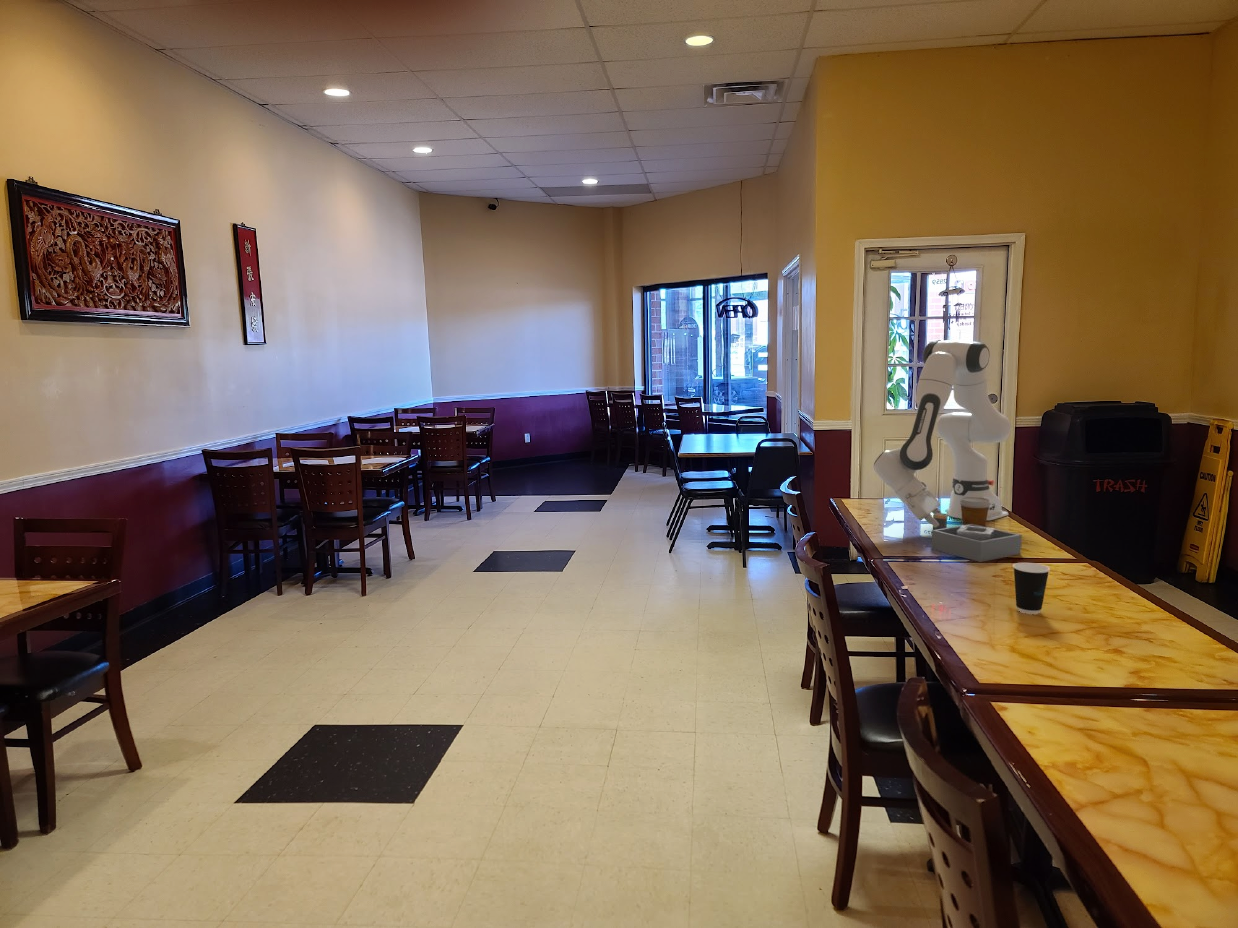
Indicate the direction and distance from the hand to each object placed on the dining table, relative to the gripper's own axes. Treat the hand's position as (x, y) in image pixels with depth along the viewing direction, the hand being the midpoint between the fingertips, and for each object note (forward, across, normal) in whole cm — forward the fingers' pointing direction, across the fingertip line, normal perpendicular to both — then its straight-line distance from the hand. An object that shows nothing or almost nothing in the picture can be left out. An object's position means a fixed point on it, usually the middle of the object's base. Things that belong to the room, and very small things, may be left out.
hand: (940, 523), depth 257 cm
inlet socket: (+13, -13, -6) cm, 19 cm away
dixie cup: (+27, -66, -20) cm, 74 cm away
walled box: (+13, -13, -6) cm, 19 cm away
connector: (+3, 0, +4) cm, 5 cm away
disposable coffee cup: (+10, +11, -2) cm, 15 cm away
